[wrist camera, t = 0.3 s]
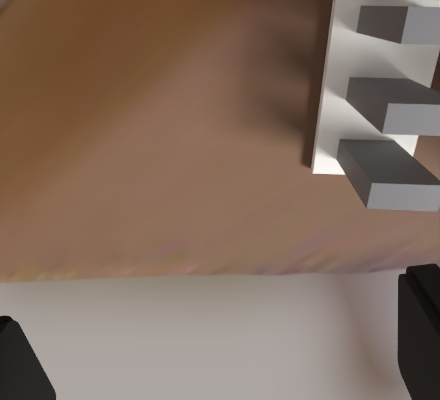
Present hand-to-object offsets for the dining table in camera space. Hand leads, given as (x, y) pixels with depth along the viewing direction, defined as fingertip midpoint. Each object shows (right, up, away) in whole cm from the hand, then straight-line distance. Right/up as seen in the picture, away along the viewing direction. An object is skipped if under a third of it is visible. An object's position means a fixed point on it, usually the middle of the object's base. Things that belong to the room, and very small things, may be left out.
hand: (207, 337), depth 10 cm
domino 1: (+14, +18, +22) cm, 32 cm away
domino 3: (+14, +8, +27) cm, 31 cm away
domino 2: (+14, +13, +25) cm, 31 cm away
